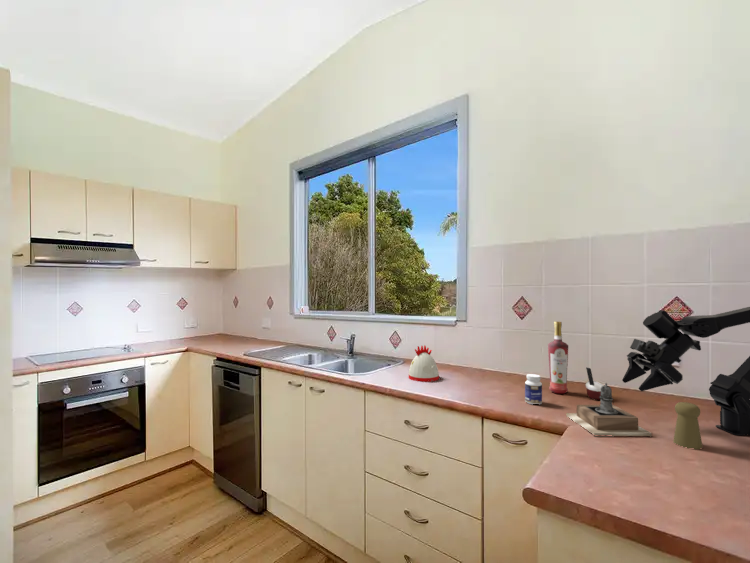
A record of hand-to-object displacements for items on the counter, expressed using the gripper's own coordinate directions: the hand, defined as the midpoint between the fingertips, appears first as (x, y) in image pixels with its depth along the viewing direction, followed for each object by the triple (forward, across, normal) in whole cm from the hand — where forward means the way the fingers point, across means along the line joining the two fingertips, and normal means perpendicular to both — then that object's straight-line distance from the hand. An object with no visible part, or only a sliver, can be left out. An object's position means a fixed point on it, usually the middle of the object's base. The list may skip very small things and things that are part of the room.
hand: (631, 385), depth 112 cm
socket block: (+14, 0, +4) cm, 14 cm away
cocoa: (+8, -28, +10) cm, 31 cm away
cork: (+3, +11, +15) cm, 19 cm away
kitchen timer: (+53, -52, -36) cm, 82 cm away
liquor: (+16, -35, +2) cm, 38 cm away
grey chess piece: (+13, 0, +3) cm, 14 cm away
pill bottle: (+25, -20, -7) cm, 33 cm away
